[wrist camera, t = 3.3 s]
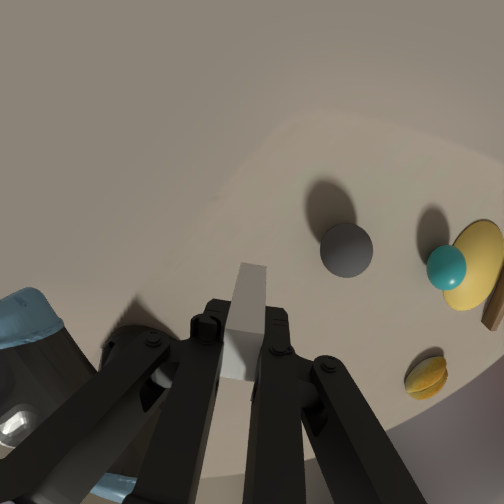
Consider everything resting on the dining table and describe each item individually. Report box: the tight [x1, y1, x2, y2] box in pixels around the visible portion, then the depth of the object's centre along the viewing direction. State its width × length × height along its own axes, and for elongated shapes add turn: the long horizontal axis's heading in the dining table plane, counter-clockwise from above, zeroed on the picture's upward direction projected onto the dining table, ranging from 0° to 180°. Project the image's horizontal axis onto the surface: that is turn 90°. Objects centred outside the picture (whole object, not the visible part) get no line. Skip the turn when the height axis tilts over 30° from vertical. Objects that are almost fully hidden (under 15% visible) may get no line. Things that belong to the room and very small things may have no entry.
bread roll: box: [405, 356, 448, 400], centre depth 35 cm, size 8×9×4 cm
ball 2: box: [427, 245, 467, 291], centre depth 27 cm, size 6×6×6 cm
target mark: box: [443, 221, 504, 311], centre depth 29 cm, size 14×14×1 cm
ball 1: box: [320, 223, 373, 278], centre depth 27 cm, size 6×6×6 cm
